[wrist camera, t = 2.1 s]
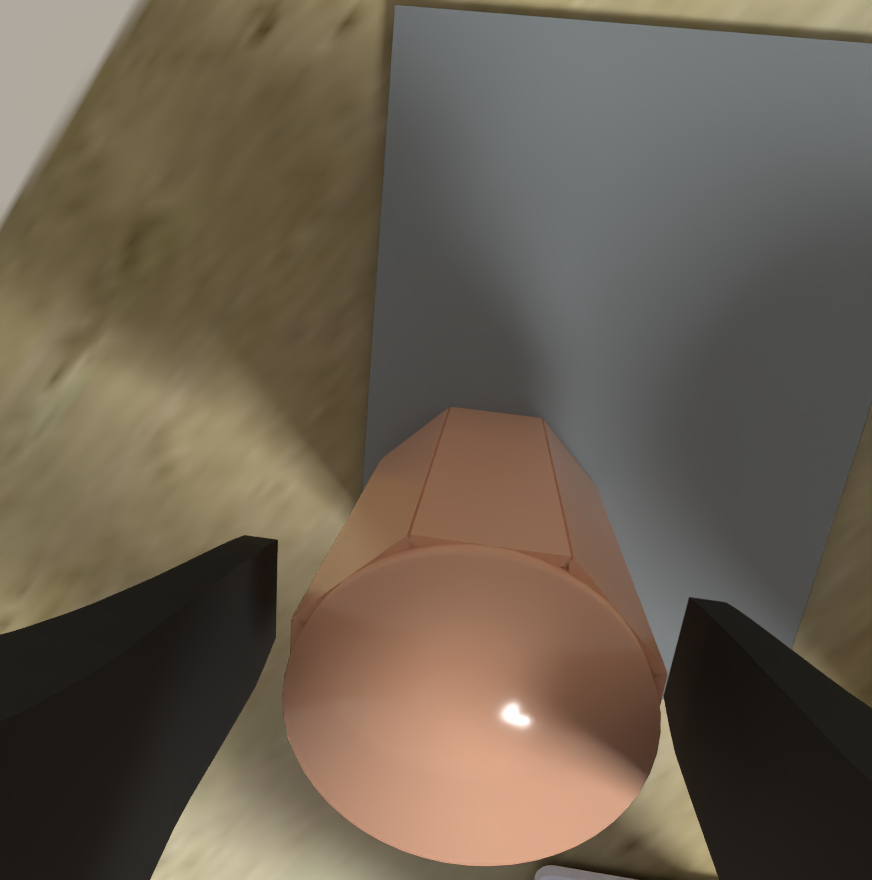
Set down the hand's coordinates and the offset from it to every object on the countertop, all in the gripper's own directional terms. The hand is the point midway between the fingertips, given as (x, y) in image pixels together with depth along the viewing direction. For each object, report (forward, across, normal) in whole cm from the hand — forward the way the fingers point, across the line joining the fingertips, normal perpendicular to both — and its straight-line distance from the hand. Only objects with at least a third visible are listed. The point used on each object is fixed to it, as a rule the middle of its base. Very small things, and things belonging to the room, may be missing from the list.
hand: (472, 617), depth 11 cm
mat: (+5, -3, -3) cm, 6 cm away
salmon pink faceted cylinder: (+4, 0, 0) cm, 5 cm away
